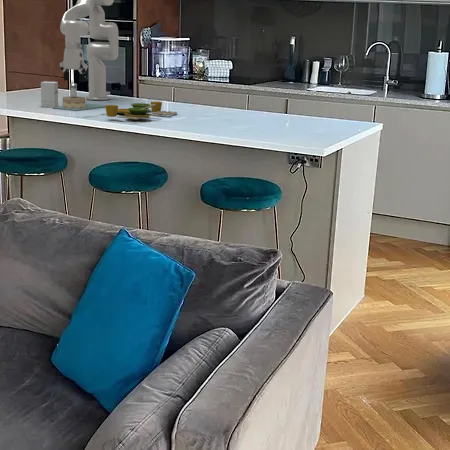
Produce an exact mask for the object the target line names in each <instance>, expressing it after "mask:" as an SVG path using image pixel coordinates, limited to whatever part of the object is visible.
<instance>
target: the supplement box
mask: <svg viewBox="0 0 450 450" xmlns="http://www.w3.org/2000/svg"><path fill="white" fill-rule="evenodd" d="M58 83H59V82H58V81H41V82H40V103H41V104H40V105H41V107H42V108H52V107H59V86H58V85H59V84H58Z"/></svg>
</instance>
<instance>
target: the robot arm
mask: <svg viewBox="0 0 450 450" xmlns="http://www.w3.org/2000/svg"><path fill="white" fill-rule="evenodd" d="M113 4H114V0H77V1H76V4H75V5H73V6H72V7H70V8H69V9H67V11H65V12H64V14H63V15H62V18H61V21H60V25H59V26H60V27H59V30H60V33H61V34H62V35H64V39H65V40H64V41H65V42H64V44H65V48H64V52H63V61H61V62H60V63H59V67H60V69H61V71H62V73H63V81H69V80H70V78H69V77H70V75H69V71H70V70H74V71H76V70H77V71H78V72H79V73H78V81H79V83H83V82H85V74H86V72H87V69H88V95H87V96H86V97H85V100H91V101H92V100H93V101H106V100H107V101H108V100H109V96H110V95H111V91H107V82H106V81H107V78H106V77H107V73H106V71H107V70H106V65H105V63H104V62H103V61H106V60H107V61H114V60H115V61H116V60H117V59H118V56H119V27H118V25H117V23H115V22H111V21H109V22H108V21H107V22H106V18H105V17H106V14H105V11H104V8H103V7H102V6H111V5H113ZM88 16H89V19H88V22H89V24H88V22H87V21H86V20H81V19H84V18H86V17H88ZM88 34H89V37H90V38H91V39H94V40H101V41H92V42H89V43H88V44H87V46H86V55H87V61H88V64H87V63H85V55H84V52H83V49H81V48H82V47H83V44H81V40H82V39H81V37H83V36H87V35H88ZM102 40H105V41H107V42H105V41H104V42H103V41H102Z"/></svg>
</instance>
